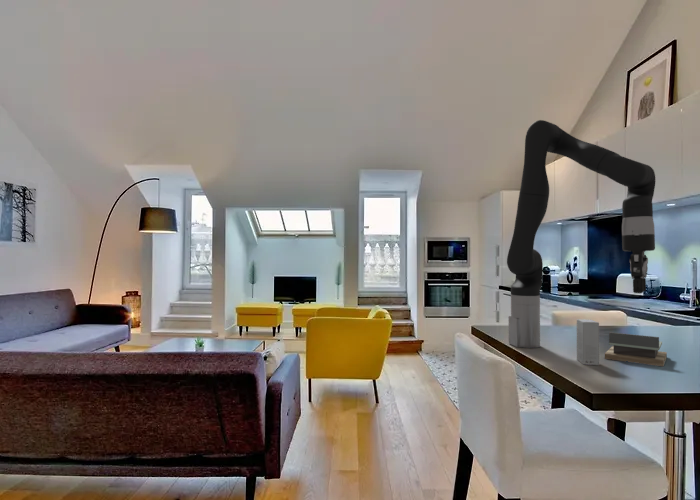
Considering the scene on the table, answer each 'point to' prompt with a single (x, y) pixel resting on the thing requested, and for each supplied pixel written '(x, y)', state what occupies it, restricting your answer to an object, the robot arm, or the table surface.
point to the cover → (634, 341)
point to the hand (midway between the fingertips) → (639, 292)
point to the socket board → (636, 355)
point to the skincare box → (588, 342)
